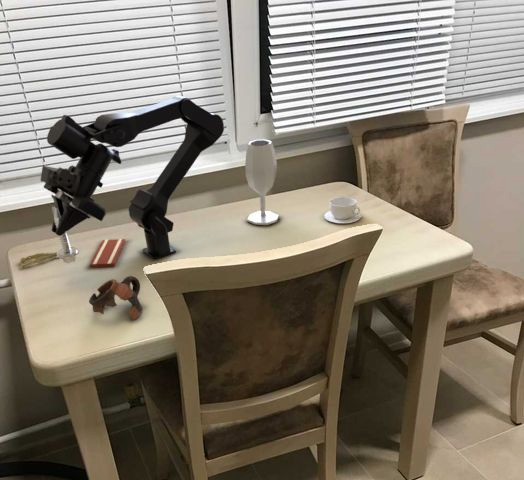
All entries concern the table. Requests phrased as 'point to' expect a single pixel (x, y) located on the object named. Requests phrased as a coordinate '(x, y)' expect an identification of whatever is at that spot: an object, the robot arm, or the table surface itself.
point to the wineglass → (261, 177)
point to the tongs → (37, 258)
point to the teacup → (343, 210)
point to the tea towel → (107, 253)
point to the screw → (64, 241)
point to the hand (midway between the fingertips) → (55, 233)
